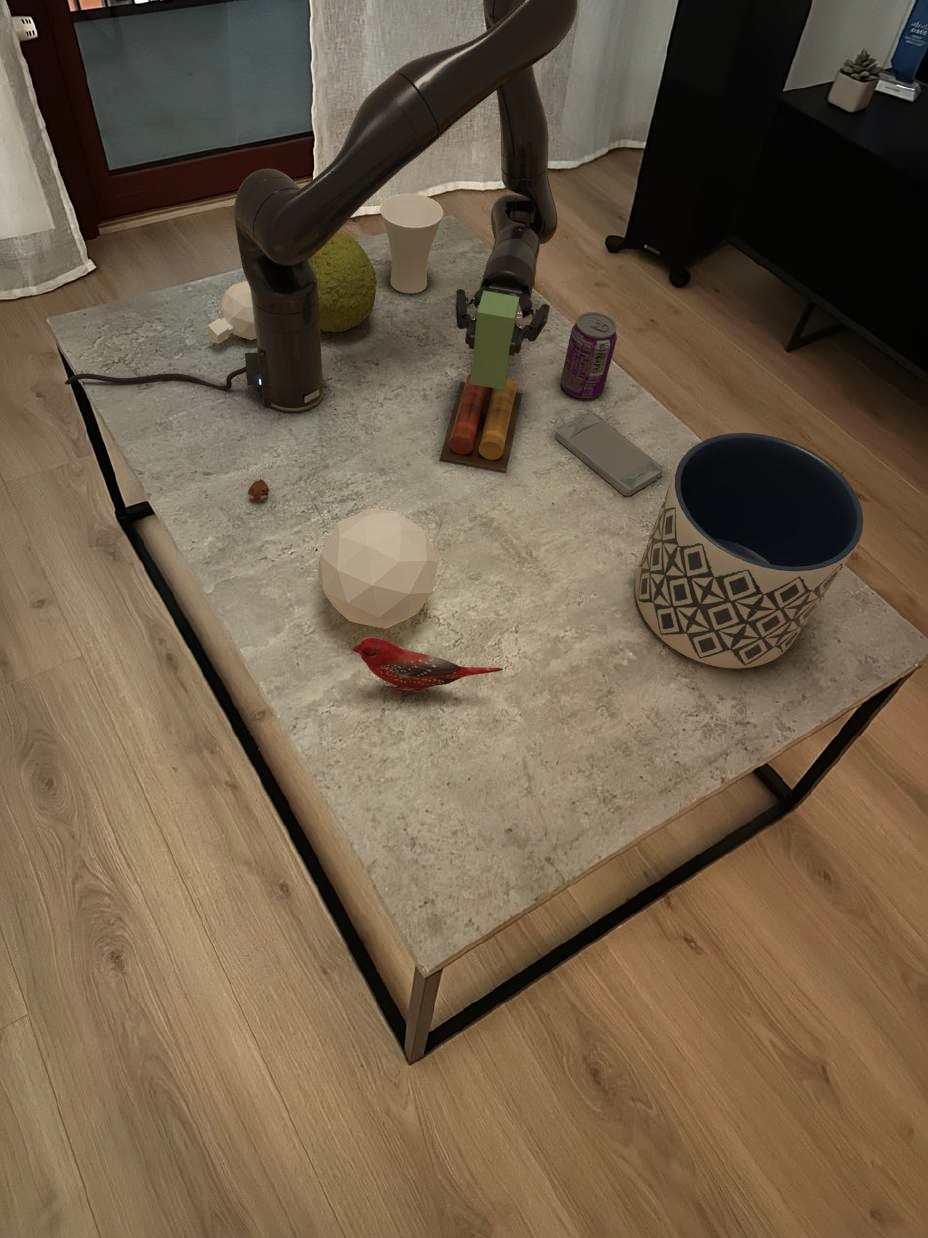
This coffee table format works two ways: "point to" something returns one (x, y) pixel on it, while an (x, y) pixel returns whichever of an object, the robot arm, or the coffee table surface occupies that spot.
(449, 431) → the rod rack
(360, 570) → the geometric sphere
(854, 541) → the planter
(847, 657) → the coffee table surface
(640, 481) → the phone
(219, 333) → the perfume bottle
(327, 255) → the fruit
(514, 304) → the green bar
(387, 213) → the cup
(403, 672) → the decorative bird figurine
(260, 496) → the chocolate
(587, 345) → the beverage can
